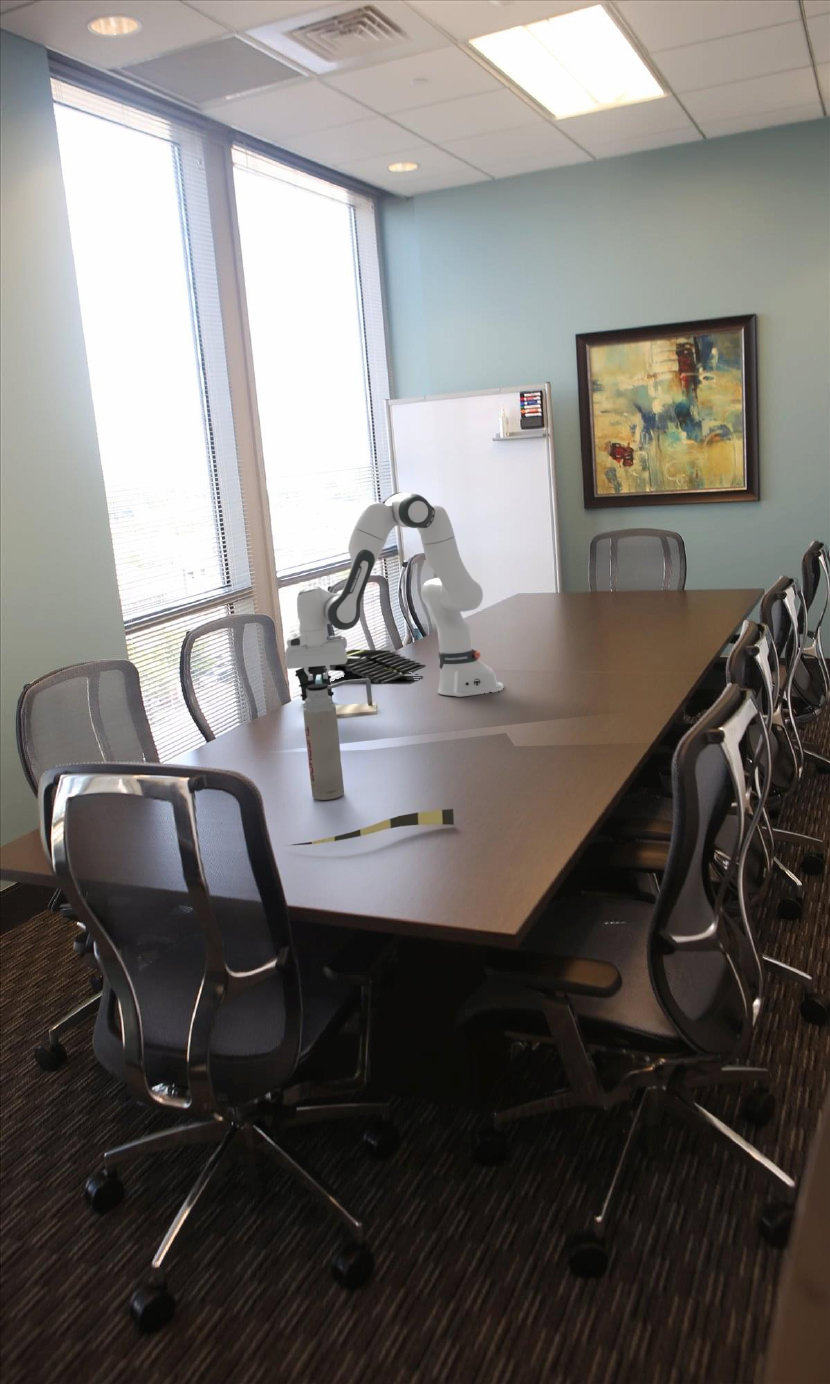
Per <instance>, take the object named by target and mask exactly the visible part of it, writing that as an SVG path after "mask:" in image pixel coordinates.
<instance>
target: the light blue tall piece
mask: <svg viewBox="0 0 830 1384" xmlns="http://www.w3.org/2000/svg"><path fill="white" fill-rule="evenodd" d="M315 683H316V684H322V677H321V675H317V676H316V680H315Z"/></svg>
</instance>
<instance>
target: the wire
mask: <svg viewBox="0 0 830 1384" xmlns="http://www.w3.org/2000/svg"><path fill="white" fill-rule="evenodd" d="M371 681H372V680H369V678H358V679H357V678H356V679H348V680H346V679H345V680H342V681H339V682H335V683H332V684H331V685H328V688H327V689H335V688H338V687H341V686H344V685H349V684H350V685H351V684H359V683H365V687H366V689H365V690H366V700H367V703H368V705H369V706H370V705H373V703H372V702H373V695H372V682H371ZM306 694H307V698H308V688H307V689H306Z"/></svg>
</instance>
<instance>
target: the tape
mask: <svg viewBox="0 0 830 1384" xmlns="http://www.w3.org/2000/svg"><path fill="white" fill-rule="evenodd" d="M425 825H426V826H427V825H448V826H449V825H450V826H451V825H452V826H453V825H455V817H454V808H448V809H438V810H437V809H435V810H428V811H421V812H420V811H419V812H412V813H407V814H402V815H398V816H395V817H392V818H388V819H385V820H382V821H380V822H377V823H375V824H373V825H370V826H367V827H364V828H360V829H357V830H355V831H351V832H347V833H343V834H338V835H335V836H331V837H328V838H323V839H318V840H314V841H308V842H300V843H293V844H291V846H305V845H317V844H323V843H330V842H332V843H333V842H336V841H342V840H343V841H344V840H349V839H354V838H359V837H363V836H367V835H371V834H375V833H378V832H382V831H386V830H389V829H393V828H399V827H408V826H409V827H410V826H425ZM284 846H288V847H289V846H290V844H288V845H287V844H286V845H284Z"/></svg>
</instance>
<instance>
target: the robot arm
mask: <svg viewBox="0 0 830 1384" xmlns="http://www.w3.org/2000/svg"><path fill="white" fill-rule="evenodd" d="M396 526H399V527H402V528H411V529H416V530H418V533H419V535H420V540H421V544H422V548H423V552H424V556H425V560H426V561H425V562H426V564H427V566H428V567H429V569H430V570H431V571H433V572H434V574H435V575H436V576H437V577H435V578H431V579H428V580H426V581H425V582H424V583H423V585H422V587H421V590H420V596H421V599H422V602H423V603H424V604H425V606H426V607H427V608H428V609H429V611H430V613H431V614H432V617H433V620H434V623H435V626H436V629H437V630H436V631H437V637H438V640H437V641H438V650H439V651H438V656H437V659H438V666H439V671H440V672H439V683H438V690H437V693H438V694H440V695H443V696H451V697H452V696H453V697H457V698H458V697H459V698H460V697H469V696H476V695H477V696H478V695H485V694H490V693H489V692H492V693H498V691H500V692H502V691H504V689H503V688H504V684H503V683H502V682H500V681H498V680H497V676H496V673H495V670H493V669H492V668H491V667H490V666H489V665H487V664H485V663H484V662H483V661H481V660H479V659H480V657H481V653H480V652H479V651H477V650H476V649H473V647H472V635H471V632H472V631H471V627H470V625H469V624H468V622H467V621H465V619H464V617H463V614H462V613H461V612H470V611H475V610H476V609H478V608H479V607H480V606H481V603H482V602H483V597H484V592H483V588H482V587H481V585H480V584H479V583H478V582H477V581H475V579H474V578H473V577H472V576H471V574H470V573H469V572H468V569H467V568H466V566H465V565H464V562H463V561H462V558H461V555H460V553H459V552H460V551H459V547H458V544H457V540H456V536H455V533H454V528H453V526H452V522H451V520H450V517H449V515H448V513H447V510H446V509H445V508H444V507H442V506H441V505H432V504H430V502H429V501H428V499H426V498H425V497H424V496H422V495H421V494H416V493H413V492H396V493H393V494H391V495H390V496H388V497H386V499H385V500H383V501H382V502H381V501H371V502H369V503H368V504H367V505H366V507H365V508H364V509H363V511H362V513H361V515H359V518H358V519H357V522H356V524H355V526H354V528H353V530H352V533H351V535H350V539H349V542H348V548H347V549H348V553H349V558H350V569H349V570H350V571H349V573H348V576H347V579H346V582H345V584H344V587H343V588H342V591H341V593H340V594H338V593H333V592H331V591H327V590H325V589H323V588H321V587H320V586H310V587H308V588H305V589H302V590H300V591H299V593H298V594H297V599H296V608H297V609H296V611H297V612H296V613H297V618H298V620H299V629H298V630H299V633H297V634H295V635H292V636H290V637H288V638H287V640H286V645H287V647H286V649H285V652H284V653H285V654H284V665H285V668H287V669H301V668H303V667H304V671H305V673H306V674H307V675H308V680H309V681H310V680H313V674H310V673H309V672H308V669H309V668H308V667H315V666H326V669H327V668H328V669H327V671H326V673H323V679H328V674H329V672H330V671H329V670H330V665H337V664H345V663H346V662H347V653H346V652H347V650H346V648H347V646H348V642H347V638H346V637H345V636H342V635H330V636H329V635H328V628H327V625H329V624H331V625H332V626H333V627H334V628H335V629H338V630H341V631H342V630H343V631H347V630H350V629H353V628H354V627H355V626H356V625H357V624H358V622H359V620H360V617H361V602H362V597H363V594H364V593H365V590H366V587H367V584H368V581H369V580H370V577H371V573H372V571H373V569H374V567H375V565H376V563H377V561H378V559H379V557H380V555H381V553H382V551H383V549H384V547H385V545H386V543H387V540H388V537H389V535H390V533H391V532H392V530H393V529H394V528H395V527H396ZM501 690H502V691H501ZM484 693H485V694H484Z"/></svg>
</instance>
